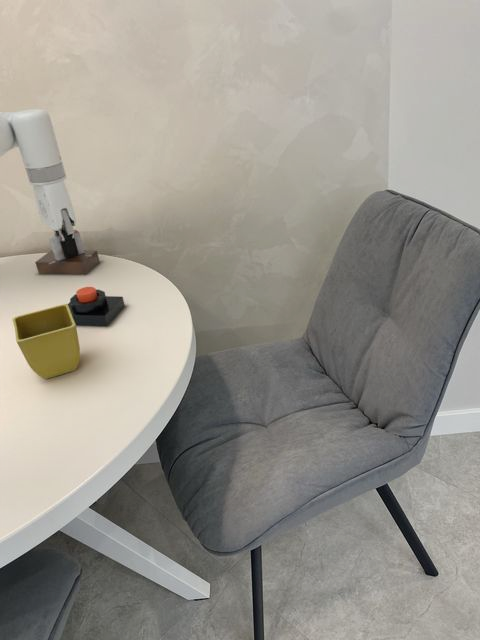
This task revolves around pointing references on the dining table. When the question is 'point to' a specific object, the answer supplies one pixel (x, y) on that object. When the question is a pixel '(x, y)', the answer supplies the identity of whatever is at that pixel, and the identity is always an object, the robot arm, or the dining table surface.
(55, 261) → the base
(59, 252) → the tap lever
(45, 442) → the dining table surface
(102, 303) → the button block
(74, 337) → the flower pot
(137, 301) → the dining table surface
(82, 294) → the button
